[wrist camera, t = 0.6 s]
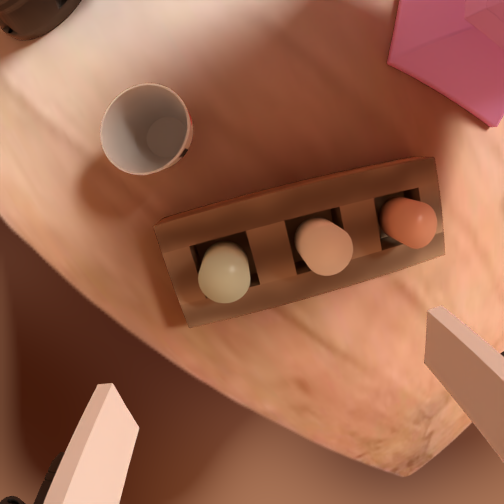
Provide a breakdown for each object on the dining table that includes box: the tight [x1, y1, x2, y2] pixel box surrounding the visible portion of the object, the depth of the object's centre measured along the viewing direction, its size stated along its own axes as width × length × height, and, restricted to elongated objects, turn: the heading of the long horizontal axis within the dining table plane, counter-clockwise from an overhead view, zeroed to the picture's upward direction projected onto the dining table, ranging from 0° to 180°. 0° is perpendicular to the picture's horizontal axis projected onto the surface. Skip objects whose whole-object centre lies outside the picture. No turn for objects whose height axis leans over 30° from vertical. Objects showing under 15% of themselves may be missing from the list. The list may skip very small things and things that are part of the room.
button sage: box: [198, 241, 250, 303], centre depth 32 cm, size 5×5×5 cm
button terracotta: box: [379, 196, 437, 249], centre depth 32 cm, size 5×5×5 cm
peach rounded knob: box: [294, 217, 353, 276], centre depth 32 cm, size 5×5×5 cm
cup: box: [100, 83, 193, 175], centre depth 29 cm, size 8×8×10 cm
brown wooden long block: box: [153, 157, 445, 328], centre depth 36 cm, size 12×32×5 cm, turn 105°
